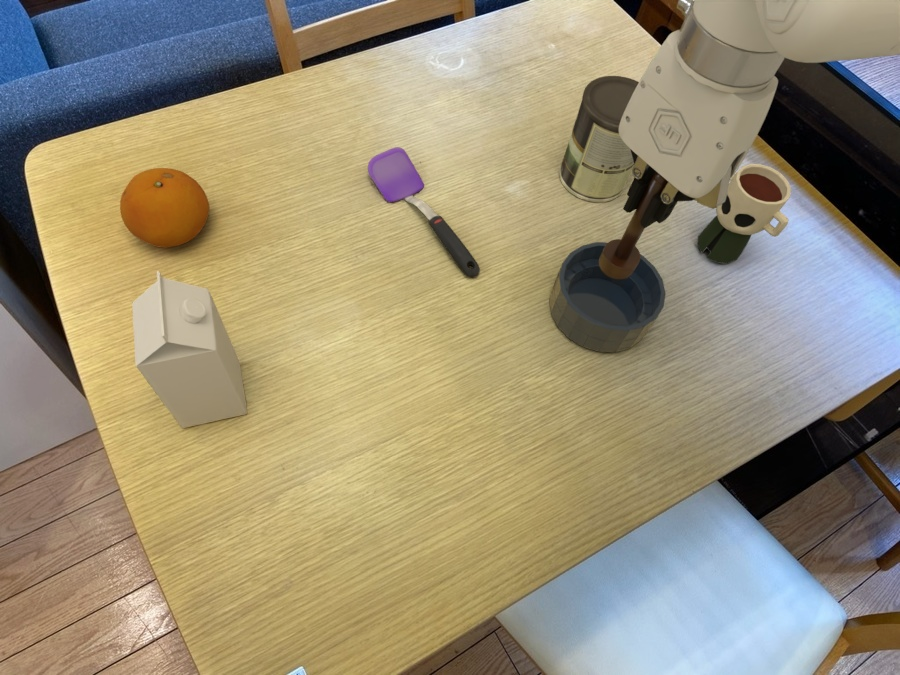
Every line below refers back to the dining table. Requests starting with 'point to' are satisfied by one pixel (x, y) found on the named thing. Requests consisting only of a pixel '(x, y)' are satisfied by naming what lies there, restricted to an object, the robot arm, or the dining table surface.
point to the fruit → (164, 207)
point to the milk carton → (187, 353)
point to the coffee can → (599, 142)
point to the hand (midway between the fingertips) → (644, 212)
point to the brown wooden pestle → (629, 237)
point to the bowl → (605, 301)
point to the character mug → (746, 212)
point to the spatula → (416, 200)
